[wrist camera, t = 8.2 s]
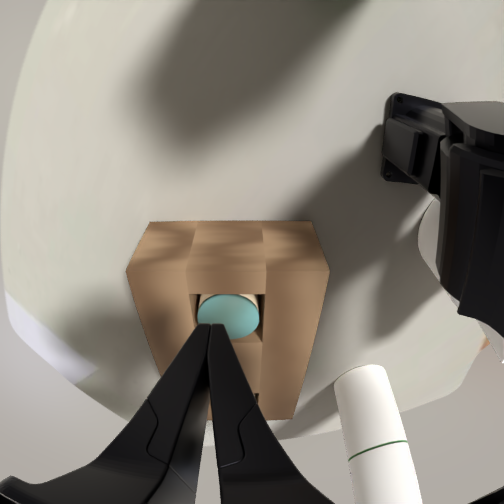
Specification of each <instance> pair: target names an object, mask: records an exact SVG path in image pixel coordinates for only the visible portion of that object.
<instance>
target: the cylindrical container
mask: <svg viewBox="0 0 504 504" xmlns="http://www.w3.org/2000/svg"><path fill="white" fill-rule="evenodd" d="M334 391H335V396H336V401H337V405H338V410H339V415H340V420H341V425H342V430H343V435H344V440H345V446H346V452H347V457H348V462H349V468H350V474H351V480H352V486H353V492H354V499H355V504H423V503H422V498H421V494H420V490H419V485H418V481H417V477H416V473H415V468H414V465H413V461H412V457H411V453H410V449H409V446H408V442H407V438H406V435H405V431H404V428H403V425H402V421H401V418H400V415H399V411H398V408H397V405H396V402H395V399H394V395H393V392H392V389H391V386H390V383H389V380H388V377H387V374H386V371H385V369H384V368H383V367H382V366H379V365H366V366H361V367H357V368H355V369H352V370H350V371H348V372H346V373H344V374H343V375H341V376H340V377H339V378H338V379H337V380H336V381H335V383H334Z"/></svg>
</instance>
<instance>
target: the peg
mask: <svg viewBox="0 0 504 504" xmlns="http://www.w3.org/2000/svg"><path fill="white" fill-rule="evenodd" d="M197 318H198V323H209V324H212V323H222V324H224V326H225V328H226V331H227V333H228V335H229V338H230V339H238V338H242V337H245V336H247V335H249V334H250V333H252V332H253V331H254V330H255V329H256V328H257V326H258V323H259V309H258V294H201V296H200V302H199V309H198V316H197Z"/></svg>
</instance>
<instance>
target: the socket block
mask: <svg viewBox="0 0 504 504" xmlns="http://www.w3.org/2000/svg"><path fill="white" fill-rule="evenodd" d="M329 273H330V270H329V267H328V264H327V261H326V259H325V256H324V253H323V251H322V248H321V245H320V243H319V240H318V237H317V235H316V232H315V230H314V227H313V224H312V222H311V221H170V222H150V223H149V225H148V227H147V229H146V231H145V233H144V235H143V237H142V239H141V240H140V242H139V244H138V246H137V248H136V250H135V253H134V255H133V257H132V259H131V261H130V263H129V265H128V267H127V269H126V274H127V278H128V281H129V285H130V288H131V291H132V295H133V298H134V301H135V304H136V308H137V311H138V314H139V317H140V320H141V323H142V326H143V329H144V332H145V335H146V338H147V340H148V343H149V346H150V349H151V351H152V354H153V357H154V360H155V362H156V365H157V367H158V370H159V373H160V375H161V377H162V375H163V374H164V372H165V371H166V369H167V368H168V366H169V365H170V363H171V362H172V361H173V359H174V358H175V356H176V355H177V353H178V352H179V350H180V349H181V347H182V346H183V345H184V343H185V342H186V340H187V339H188V337H189V336H190V334H191V333H192V331H193V330H194V329H195V327H196V326H197V324H199V323H198V318H197V316H198V309H199V302H200V296H201V294H258V309H259V323H258V326H257V328H256V329H255V330H254V331H253V332H252V333H250V334H249V335H247V336H245V337H242V338H238V339H230V340H231V343H232V345H233V348H234V350H235V352H236V355H237V357H238V359H239V362H240V364H241V367H242V369H243V371H244V374H245V376H246V378H247V380H248V383H249V385H250V387H251V390H252V392H253V393H255V399H256V401H257V404H258V405H259V407H260V410H261V412H262V414H263V416H264V418H265V420H286V419H292V418H293V415H294V412H295V408H296V405H297V402H298V398H299V395H300V391H301V388H302V384H303V381H304V377H305V374H306V370H307V366H308V363H309V359H310V355H311V351H312V347H313V343H314V339H315V335H316V331H317V327H318V323H319V319H320V314H321V310H322V306H323V301H324V297H325V292H326V288H327V283H328V278H329ZM207 420H212V411H211V400H210V402H209V408H208V415H207Z"/></svg>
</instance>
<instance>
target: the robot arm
mask: <svg viewBox="0 0 504 504" xmlns="http://www.w3.org/2000/svg"><path fill="white" fill-rule="evenodd" d="M398 97H400V99H401V100H400V102H399V103H398V102H397V98H398ZM382 154H383V162H382V168H381V176H382V178H384V179H385V180H386V181H392V182H402V183H412V184H419V185H421V186H422V187H423V188H424V189H425V190H426V191H428V192H429V193H430V194H431V195H432V196H433V197H435V198H436V199H437V200H438V201H439V202H440V216H439V230H438V242H437V252H436V260H435V263H436V267H437V270H438V274H439V276H440V280H439V281H440V284H441V285H442V286H443V288H444V289H445V290H446V291H447V292H448V293H449V294H450V295H451V296H453V297H454V298H455V299H456V300H458V301H459V306H458V310H457V312H458V314H459V315H463V316H467V317H471V318H475V319H477V320H479V321H481V322H483V323H485V324H487V325H489V326H490V327H491V328H493V329H494V330H495V331H496V332H497V333H499V334H500V335H501V336H502V337H503V338H504V103H503V102H498V101H481V102H455V103H439V102H435V101H432V100H428V99H424V98H420V97H416V96H412V95H407V94H403V93H398V92H396V93H394V94H393V95H392V97H391V104H390V113H389V119H388V120H387V121H386V127H385V134H384V142H383V148H382ZM389 171H390V174H389V175H388V176H386V173H387V172H389ZM147 399H148V400H147ZM147 399H146V400H145V401H144V403H143V404H142V406H141V407H140V408H139V410H138V411H137V413H136V414H135V415H134V417H133V418H132V419H131V420H130V422H129V423H128V424H127V425H126V426H125V428H124V429H123V430H122V431H121V432H120V433H119V434H118V436H117V437H116V438H115V439H114V440H113V441H112V442H111V443H110V444H109V445H108V446H107V448H106V449H105V450H104V451H103V452H102V453H101V454H100V455H99V456H98V457H97V458H96V459H95V460H94V461H92V462H91V463H89V464H87V465H86V466H84V467H81V468H79V469H77V470H75V471H72V472H70V473H67V474H65V475H62V476H60V477H58V478H55V479H53V480H50V481H48V482H44V483H41V484H29V483H27V482H24V481H22V480H20V479H18V478H16V477H14V476H9V477H7V478H6V479H4V480H3V481H1V482H0V504H195V498H196V491H197V483H198V476H199V469H200V462H201V455H202V448H203V441H204V435H205V428H206V421H207V415H208V408H209V402H210V400H211V411H212V421H213V431H214V441H215V449H216V459H217V467H218V475H219V484H220V498H221V504H335V503H334V502H332V501H331V500H330V499H329V498H327V497H326V496H325V495H324V494H322V493H321V492H320V491H319V490H317V489H316V488H315V487H314V486H313V485H312V484H311V483H309V482H308V481H307V480H306V478H304V476H303V475H302V474H301V473H300V471H299V470H298V469H297V468H296V466H295V465H294V464H293V462H292V461H291V459H290V458H289V456H288V455H287V454H286V452H285V451H284V449H283V448H282V446H281V445H280V443H279V442H278V440H277V439H276V437H275V436H274V434H273V432H272V431H271V429H270V427H269V426H268V424H267V422H266V420H265V418H264V416H263V414H262V412H261V410H260V407H259V405H258V404H257V401H256V399H255V396H254V394H253V392H252V390H251V387H250V385H249V383H248V380H247V378H246V376H245V374H244V371H243V369H242V367H241V364H240V362H239V359H238V357H237V355H236V352H235V350H234V348H233V345H232V343H231V340H230V338H229V335H228V333H227V331H226V328H225V326H224V324H222V323H212V324H209V323H199V324H197V326H196V327H195V329H194V330H193V331H192V333H191V334H190V336H189V337H188V339H187V340H186V342H185V343H184V345H183V346H182V347H181V349H180V350H179V352H178V353H177V355H176V356H175V358H174V359H173V361H172V362H171V363H170V365H169V366H168V368H167V369H166V371H165V372H164V374H163V375H162V377H161V378H160V379H159V381H158V382H157V384H156V385H155V387H154V388H153V390H152V391H151V393H150V394H149V396H148V397H147ZM4 495H5V496H4ZM11 499H12V500H11ZM13 500H14V501H13ZM15 501H16V502H15ZM469 504H504V486H503V487H501V488H499V489H497V490H495V491H493V492H491V493H489V494H487V495H485V496H483V497H481V498H479V499H477V500H475V501H473V502H471V503H469Z"/></svg>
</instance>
